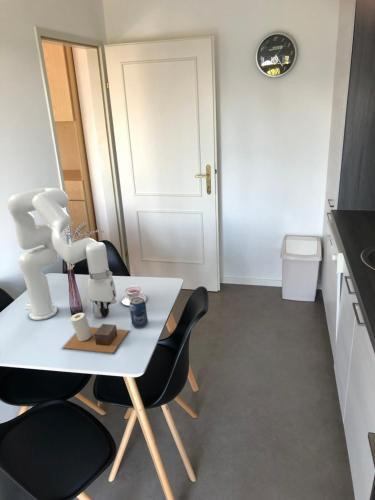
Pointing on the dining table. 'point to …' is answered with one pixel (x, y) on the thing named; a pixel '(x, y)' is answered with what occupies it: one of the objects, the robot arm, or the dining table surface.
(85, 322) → the paper roll
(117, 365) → the dining table surface
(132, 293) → the teacup
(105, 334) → the walnut block
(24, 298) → the dining table surface
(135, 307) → the soda can
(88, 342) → the cork mat
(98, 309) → the plastic bottle
